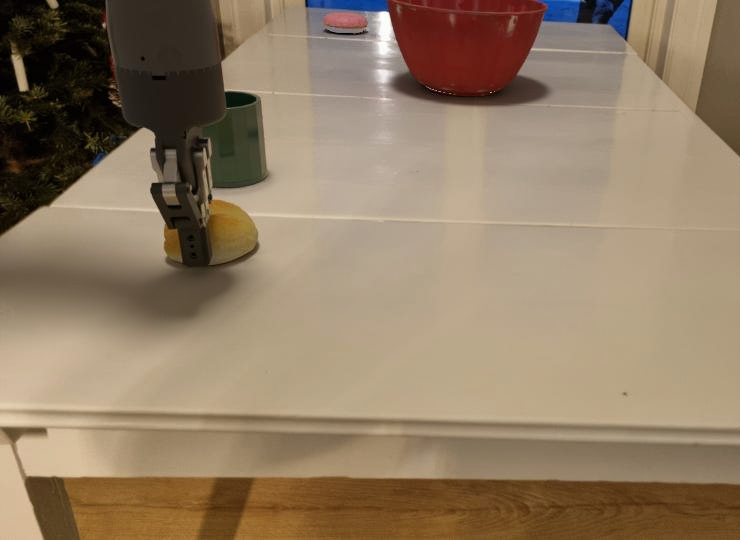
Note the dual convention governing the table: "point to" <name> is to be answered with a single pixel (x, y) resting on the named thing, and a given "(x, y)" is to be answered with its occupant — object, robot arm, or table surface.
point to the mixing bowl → (465, 41)
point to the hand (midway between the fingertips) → (198, 263)
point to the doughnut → (345, 20)
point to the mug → (238, 142)
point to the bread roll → (220, 234)
